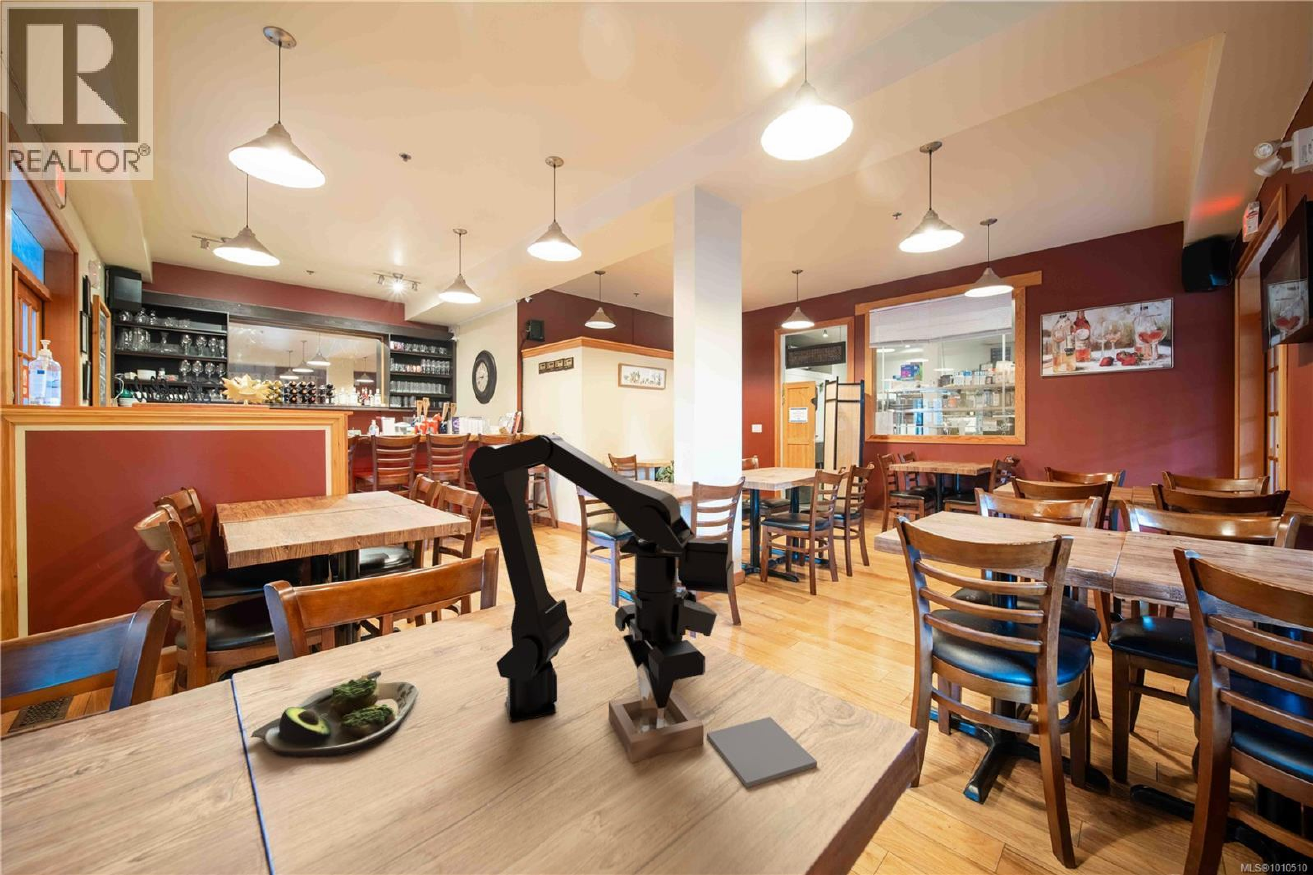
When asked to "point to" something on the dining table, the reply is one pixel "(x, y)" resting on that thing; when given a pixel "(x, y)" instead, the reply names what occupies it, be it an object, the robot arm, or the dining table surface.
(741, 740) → the mat
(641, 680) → the milkshake
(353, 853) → the dining table surface
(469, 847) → the dining table surface
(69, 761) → the dining table surface
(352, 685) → the salad plate
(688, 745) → the collar
